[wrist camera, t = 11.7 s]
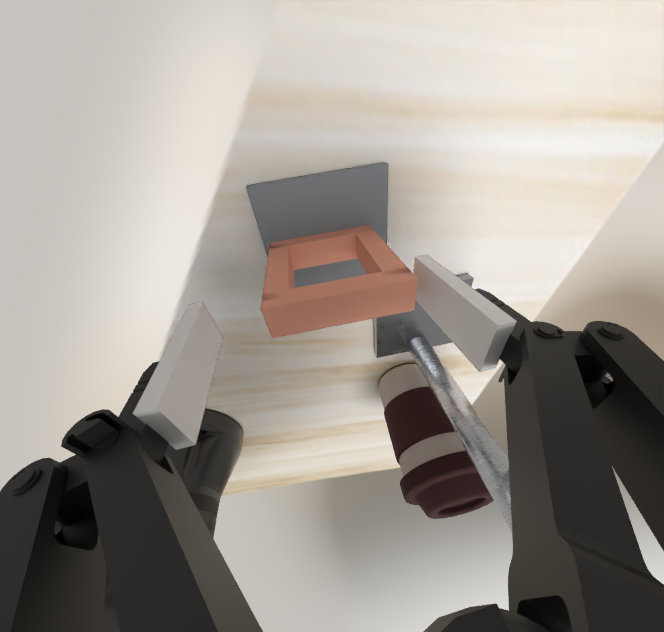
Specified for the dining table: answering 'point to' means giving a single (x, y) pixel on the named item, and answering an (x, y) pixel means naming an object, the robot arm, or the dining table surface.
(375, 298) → the link
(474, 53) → the dining table surface
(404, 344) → the stand
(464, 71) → the dining table surface
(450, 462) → the coffee cup
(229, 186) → the dining table surface
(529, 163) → the dining table surface
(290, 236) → the coaster
